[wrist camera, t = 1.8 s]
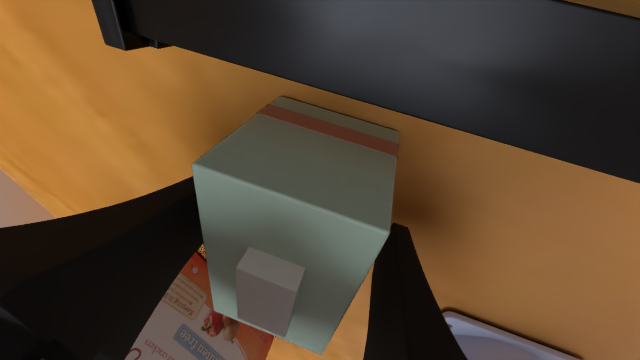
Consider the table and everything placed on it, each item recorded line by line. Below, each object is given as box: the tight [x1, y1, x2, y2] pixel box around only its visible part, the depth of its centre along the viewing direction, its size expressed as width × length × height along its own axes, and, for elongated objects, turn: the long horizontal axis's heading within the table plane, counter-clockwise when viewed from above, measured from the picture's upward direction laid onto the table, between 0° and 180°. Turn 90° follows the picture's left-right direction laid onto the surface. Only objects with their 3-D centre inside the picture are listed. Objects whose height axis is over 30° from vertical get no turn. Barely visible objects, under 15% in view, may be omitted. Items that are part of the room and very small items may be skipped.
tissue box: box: [192, 96, 399, 355], centre depth 10 cm, size 8×5×6 cm, turn 169°
